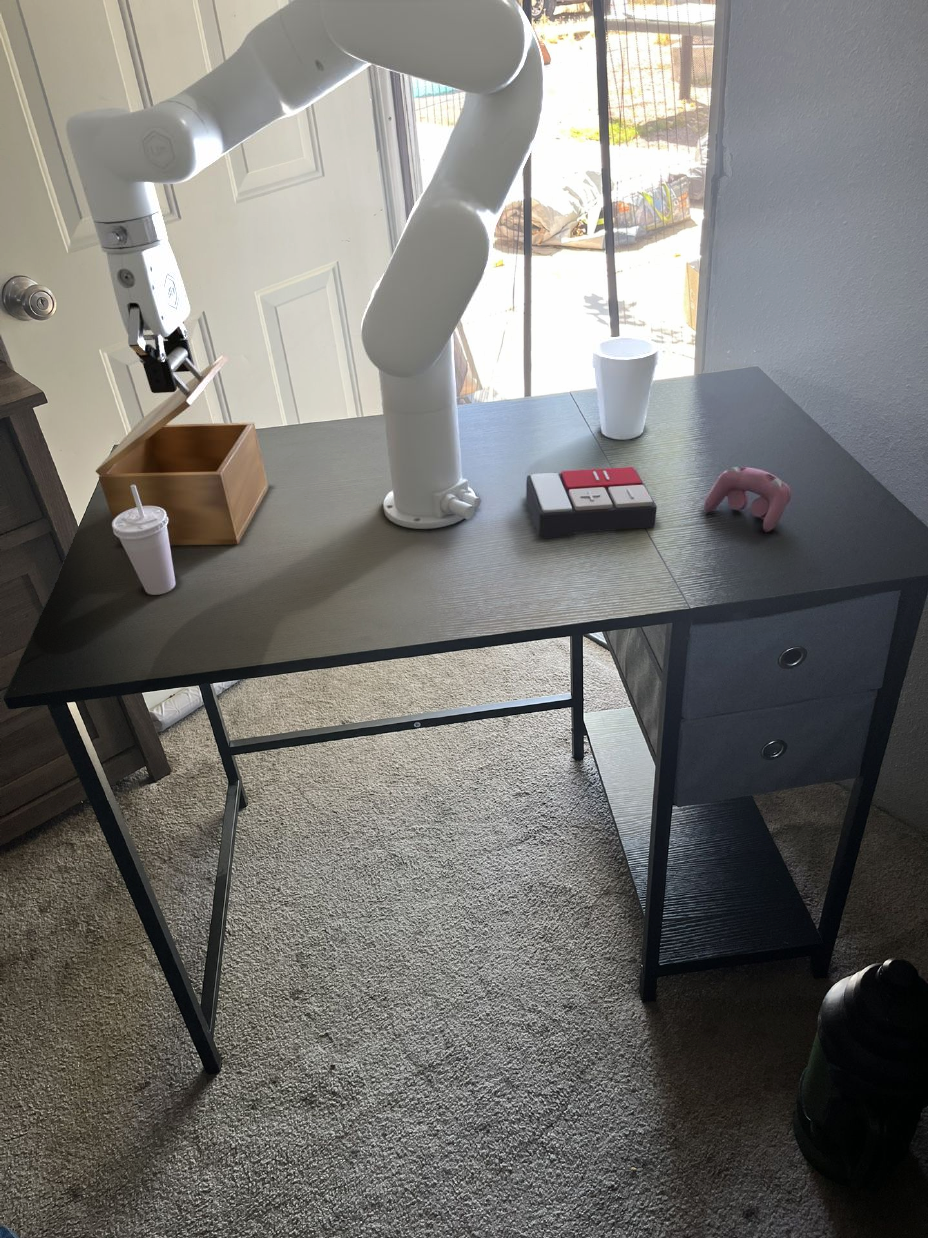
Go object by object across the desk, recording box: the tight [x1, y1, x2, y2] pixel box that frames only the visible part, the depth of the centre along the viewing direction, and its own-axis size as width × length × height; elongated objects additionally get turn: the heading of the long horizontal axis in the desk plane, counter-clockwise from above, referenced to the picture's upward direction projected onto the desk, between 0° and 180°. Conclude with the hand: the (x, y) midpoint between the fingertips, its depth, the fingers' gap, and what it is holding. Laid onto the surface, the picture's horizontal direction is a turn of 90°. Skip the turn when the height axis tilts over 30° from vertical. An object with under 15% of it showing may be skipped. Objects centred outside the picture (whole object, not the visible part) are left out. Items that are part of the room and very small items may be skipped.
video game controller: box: [703, 466, 792, 533], centre depth 117 cm, size 10×5×7 cm, turn 47°
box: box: [98, 421, 269, 547], centre depth 125 cm, size 16×16×10 cm
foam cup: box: [591, 336, 659, 440], centre depth 137 cm, size 10×9×13 cm
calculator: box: [525, 466, 658, 540], centre depth 120 cm, size 11×4×15 cm
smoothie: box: [111, 485, 176, 596], centre depth 110 cm, size 6×6×14 cm
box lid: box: [95, 346, 229, 476], centre depth 118 cm, size 17×16×5 cm
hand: (173, 379), depth 116 cm, fingers closed on box lid, 6 cm apart
